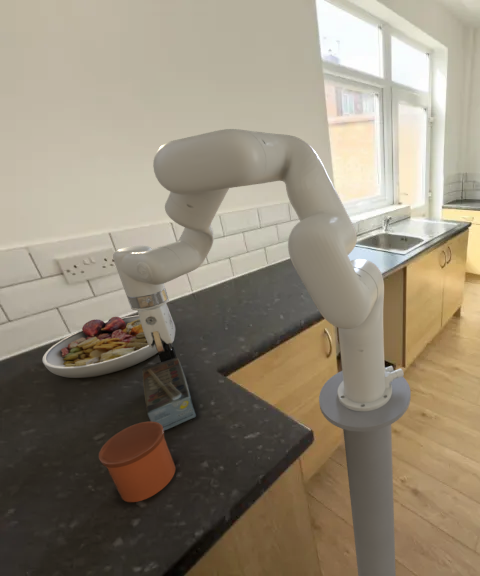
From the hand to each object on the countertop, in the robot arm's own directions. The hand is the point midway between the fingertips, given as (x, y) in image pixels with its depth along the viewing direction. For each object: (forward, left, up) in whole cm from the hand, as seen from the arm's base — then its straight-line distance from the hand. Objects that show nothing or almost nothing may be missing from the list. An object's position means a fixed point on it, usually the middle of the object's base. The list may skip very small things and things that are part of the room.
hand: (170, 362), depth 82 cm
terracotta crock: (+2, +33, -4) cm, 34 cm away
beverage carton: (0, +12, -4) cm, 13 cm away
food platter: (+15, -22, -4) cm, 27 cm away
